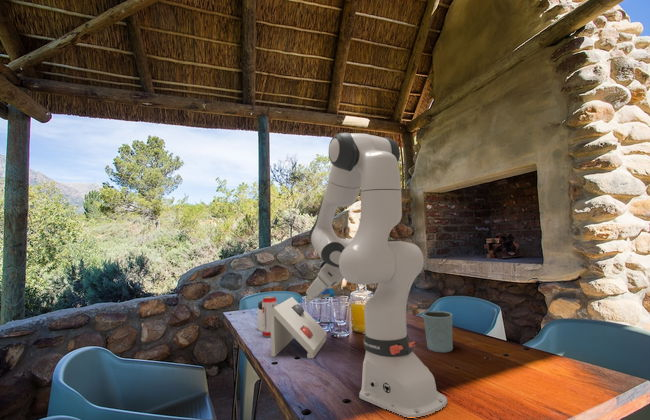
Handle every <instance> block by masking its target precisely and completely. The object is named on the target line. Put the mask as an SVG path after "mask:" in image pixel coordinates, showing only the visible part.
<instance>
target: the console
mask: <svg viewBox="0 0 650 420" xmlns="http://www.w3.org/2000/svg"><path fill="white" fill-rule="evenodd" d="M297 304H299V305H300V306H302V305H301V304H300V303H299V301H297V300H295V298H294V297H293V296H291V297H289V298H288V299H286V300H284V301H282V302H281V303H279V304H277V306H275V307H274V308H273V309H272V310H271V311H270V323H271V337H270V353H271V355H270V357H274V358H275V357H276V356H277V355H278V354H279V353H280V352H281V351H282V350H284V348H285V347H286V346H287V345H289V343H291V342H292V341H293V340H294V339H295V340H296V341H297V342H298V344H300V345H301V346H302V347H303V349H305V350H306V352H307V354H306V357H307V358H306V359H314V358H315V356H316V355H317V354H318V352H319V351H320V350H321V348H322V347H323V345H324V344H325V343H326V341H327V334H328V333H327V331H326V330H325V329H324V328H323V327H321V325H320V324H319V322H317V321H316V320H315V318H313V317H312V316H311V315H310V314H309V312H307V311H306V310H305V309H304V313H303V314H302V315H301V316H299V315H298V314H297V313H296V312H295V311H294V310H293V308H294V307H295V306H296V305H297ZM304 326H306V327H308V328H309V329H310V330H311V332H312V335H311V336H310V338H308V337H307V336H306V335H305V334H304V333H303V332H302V331H301V329H302V328H303V327H304Z"/></svg>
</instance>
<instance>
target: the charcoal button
mask: <svg viewBox="0 0 650 420" xmlns="http://www.w3.org/2000/svg"><path fill="white" fill-rule="evenodd" d="M299 304H300V303H299ZM299 304H297V305H296V306H295V307H294V308H293V310H294V311H295V312H296V313H297V314H298V315H299V316H301V315H302V314H303V313H304V310H305V308H304V307H303V306H302V305H301V304H300V305H301V306H300V305H299Z"/></svg>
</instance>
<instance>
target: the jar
mask: <svg viewBox="0 0 650 420" xmlns="http://www.w3.org/2000/svg"><path fill="white" fill-rule="evenodd" d="M262 301H263V300H262ZM262 301H258V302H257V307H258V308H257V309H256V310H257V314H256V315H257V330H258V331H260V332H262V333H263V320H262Z"/></svg>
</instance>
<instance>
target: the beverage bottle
mask: <svg viewBox="0 0 650 420" xmlns="http://www.w3.org/2000/svg"><path fill="white" fill-rule="evenodd" d="M335 292H336V291H335V289H334V288H333V286H332V287H328V288H327V289H326V290H324V291H323V292H322V293H320V294H319V295H318V297H320V298H321V297H322V298H325V299H327V298H329V297H335V298H336V296H335V295H336V293H335Z"/></svg>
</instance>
